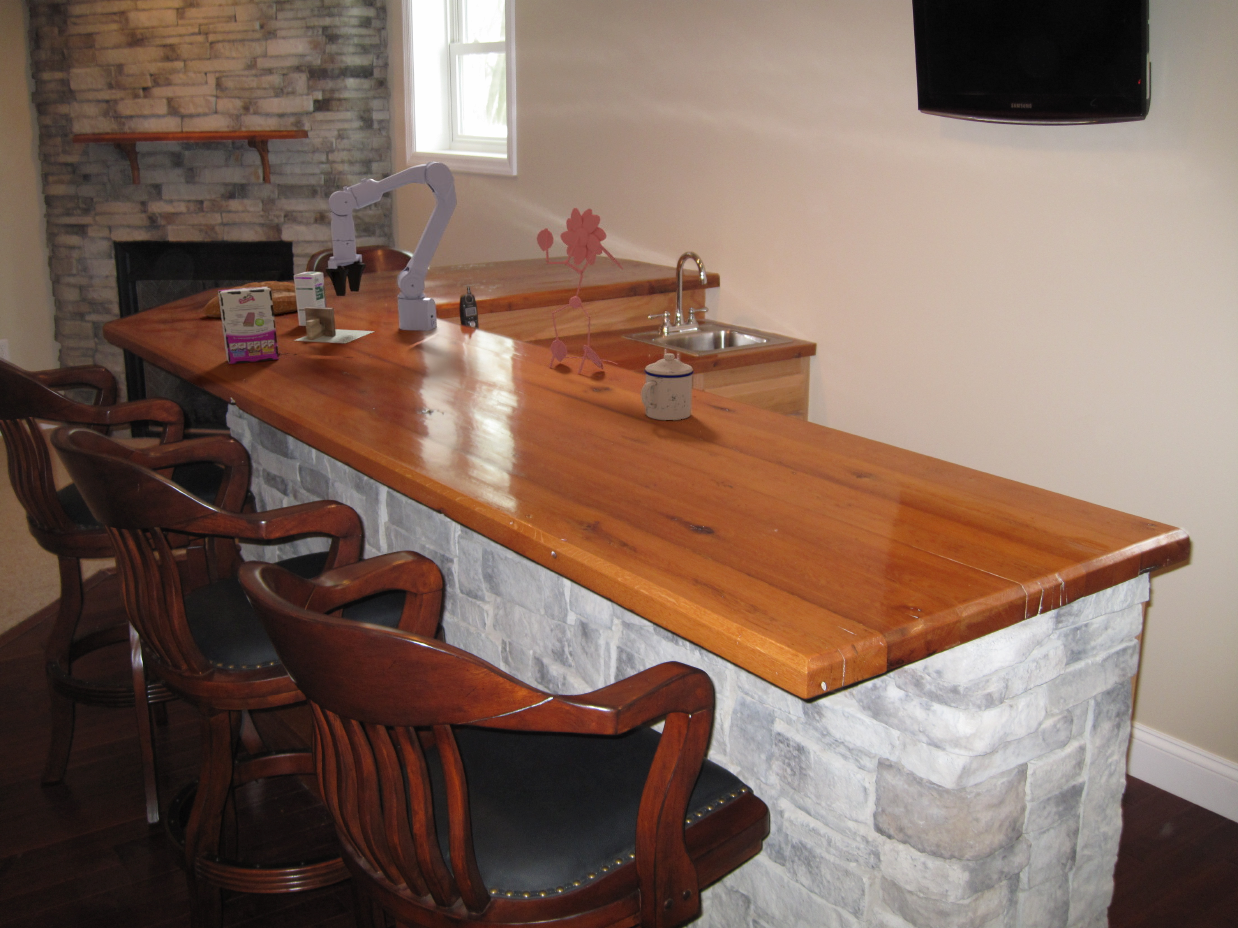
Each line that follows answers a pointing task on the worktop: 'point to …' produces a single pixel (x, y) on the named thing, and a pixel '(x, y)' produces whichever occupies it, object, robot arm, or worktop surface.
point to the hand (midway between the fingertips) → (347, 293)
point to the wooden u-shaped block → (314, 329)
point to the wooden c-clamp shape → (322, 318)
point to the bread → (280, 297)
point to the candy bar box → (248, 324)
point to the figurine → (581, 245)
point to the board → (339, 336)
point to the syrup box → (309, 293)
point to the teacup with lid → (668, 389)
